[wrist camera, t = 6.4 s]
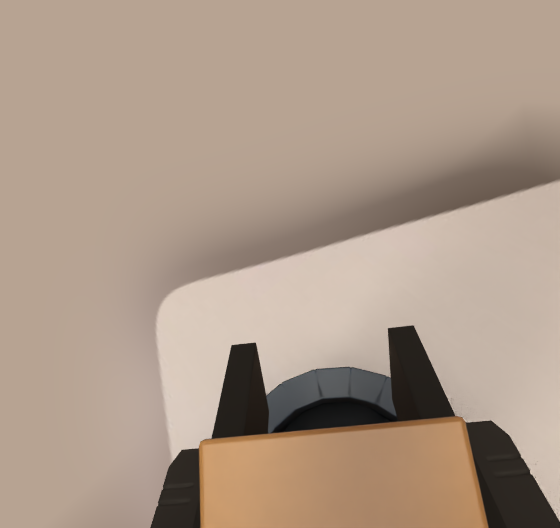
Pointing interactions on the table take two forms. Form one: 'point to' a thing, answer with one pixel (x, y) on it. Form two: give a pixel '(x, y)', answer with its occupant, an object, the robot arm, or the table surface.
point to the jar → (330, 400)
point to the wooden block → (343, 478)
